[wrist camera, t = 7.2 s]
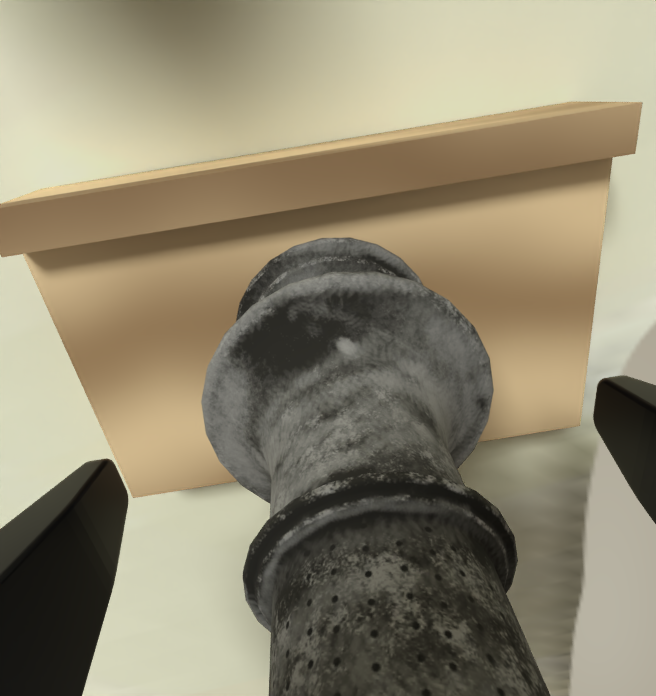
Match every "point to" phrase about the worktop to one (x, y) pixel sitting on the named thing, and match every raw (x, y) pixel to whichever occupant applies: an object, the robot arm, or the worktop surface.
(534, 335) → the dock
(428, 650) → the salt shaker
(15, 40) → the worktop surface
